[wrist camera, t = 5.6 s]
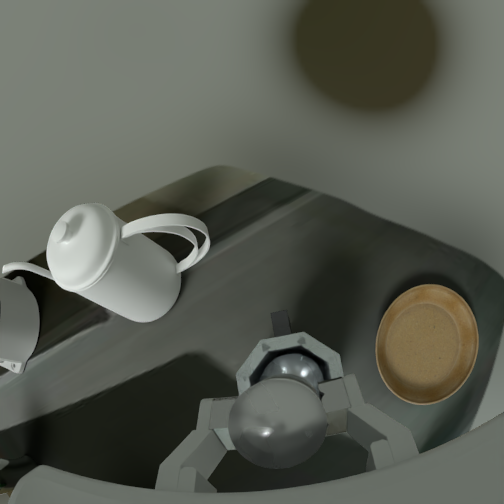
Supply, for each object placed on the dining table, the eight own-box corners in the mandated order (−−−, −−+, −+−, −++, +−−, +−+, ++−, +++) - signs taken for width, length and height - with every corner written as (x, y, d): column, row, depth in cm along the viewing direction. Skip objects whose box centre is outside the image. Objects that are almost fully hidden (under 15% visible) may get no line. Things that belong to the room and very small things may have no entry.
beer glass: (29, 482, 30) (-26, 492, 16) (18, 451, 32) (-39, 455, 18) (48, 487, 29) (-10, 501, 15) (36, 454, 32) (-25, 461, 18)
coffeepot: (79, 271, 43) (-6, 224, 25) (221, 226, 41) (169, 135, 24) (82, 337, 39) (-16, 311, 21) (238, 302, 37) (181, 247, 20)
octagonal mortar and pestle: (262, 419, 31) (243, 446, 20) (247, 332, 35) (222, 318, 24) (338, 405, 30) (357, 426, 19) (322, 317, 35) (332, 296, 23)
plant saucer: (384, 277, 35) (389, 271, 33) (475, 300, 32) (485, 296, 29) (356, 392, 31) (360, 394, 28) (455, 407, 27) (464, 409, 25)
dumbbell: (266, 417, 23) (211, 498, 7) (256, 360, 25) (185, 358, 10) (327, 406, 23) (369, 477, 7) (317, 348, 25) (345, 330, 9)
